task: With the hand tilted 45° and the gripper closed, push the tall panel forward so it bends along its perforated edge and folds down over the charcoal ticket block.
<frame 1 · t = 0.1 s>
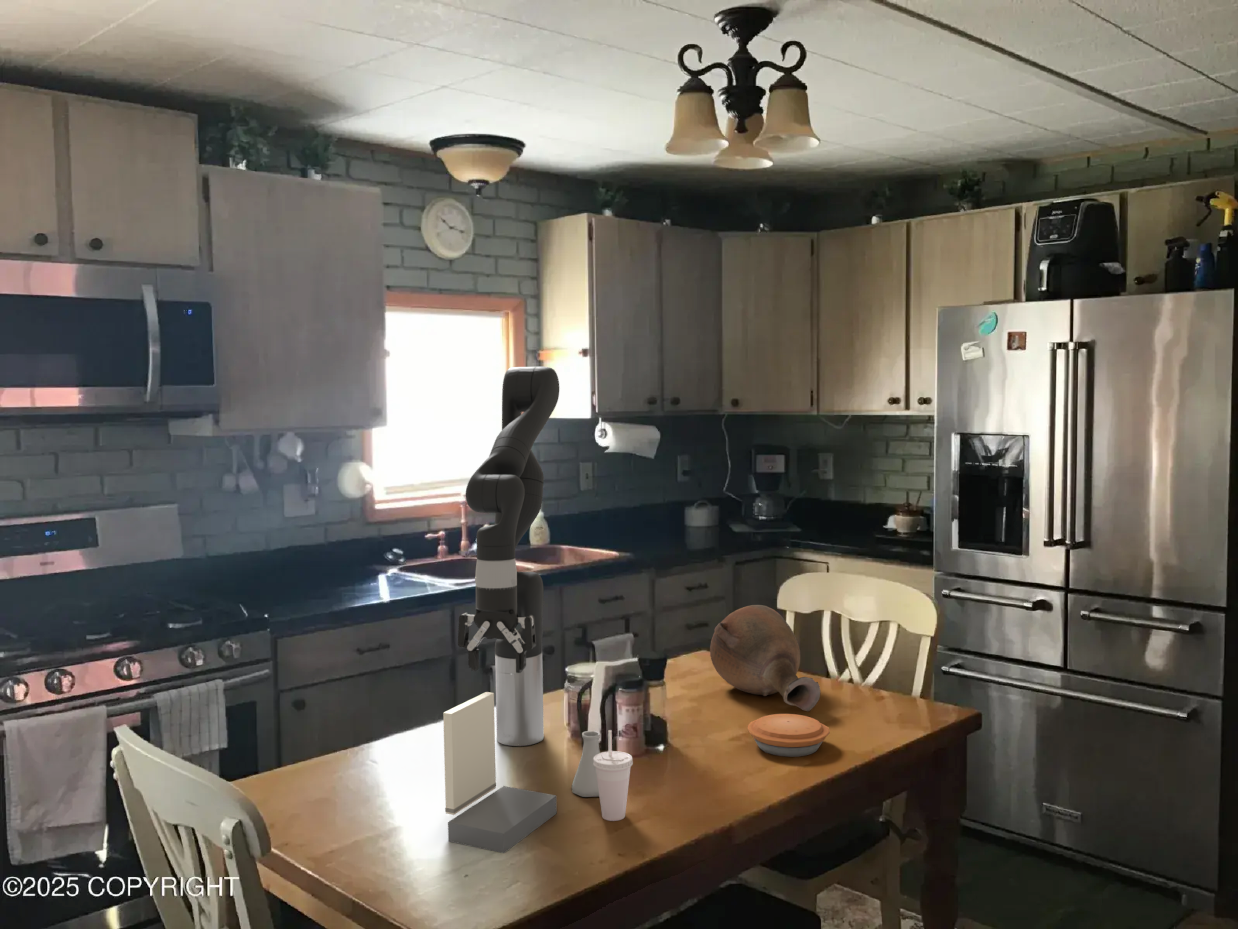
hand: (497, 671, 193), 17 cm above the table, fingers open, 8 cm apart
flask: (591, 791, 181), on the table
smoothie: (613, 817, 170), on the table
pie: (788, 748, 202), on the table
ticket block: (477, 821, 168), on the table
jug: (768, 698, 233), on the table
panel: (470, 751, 168), point 11 cm above the table, hinge at 0.0°
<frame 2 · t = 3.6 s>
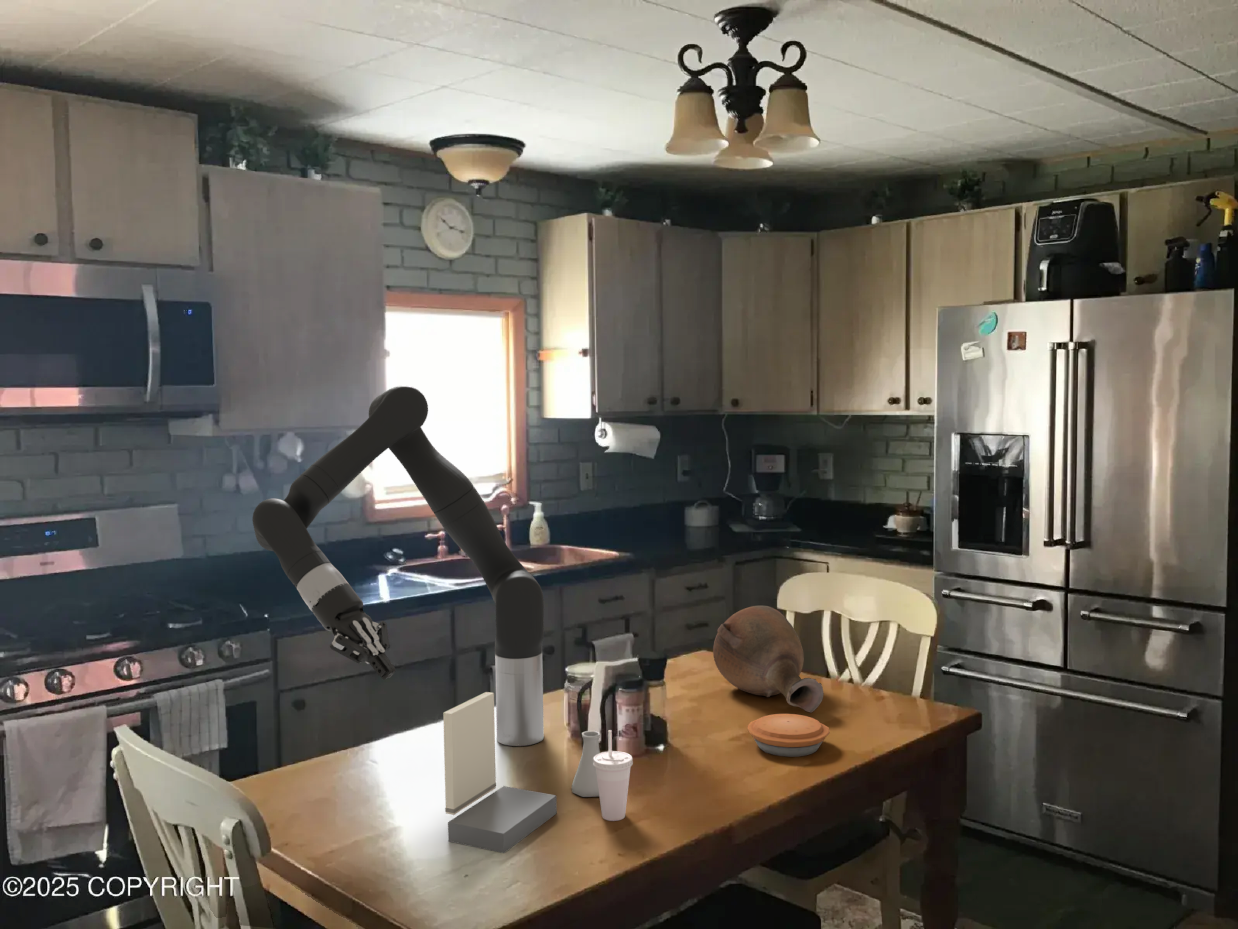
hand: (389, 675, 174), 22 cm above the table, fingers closed
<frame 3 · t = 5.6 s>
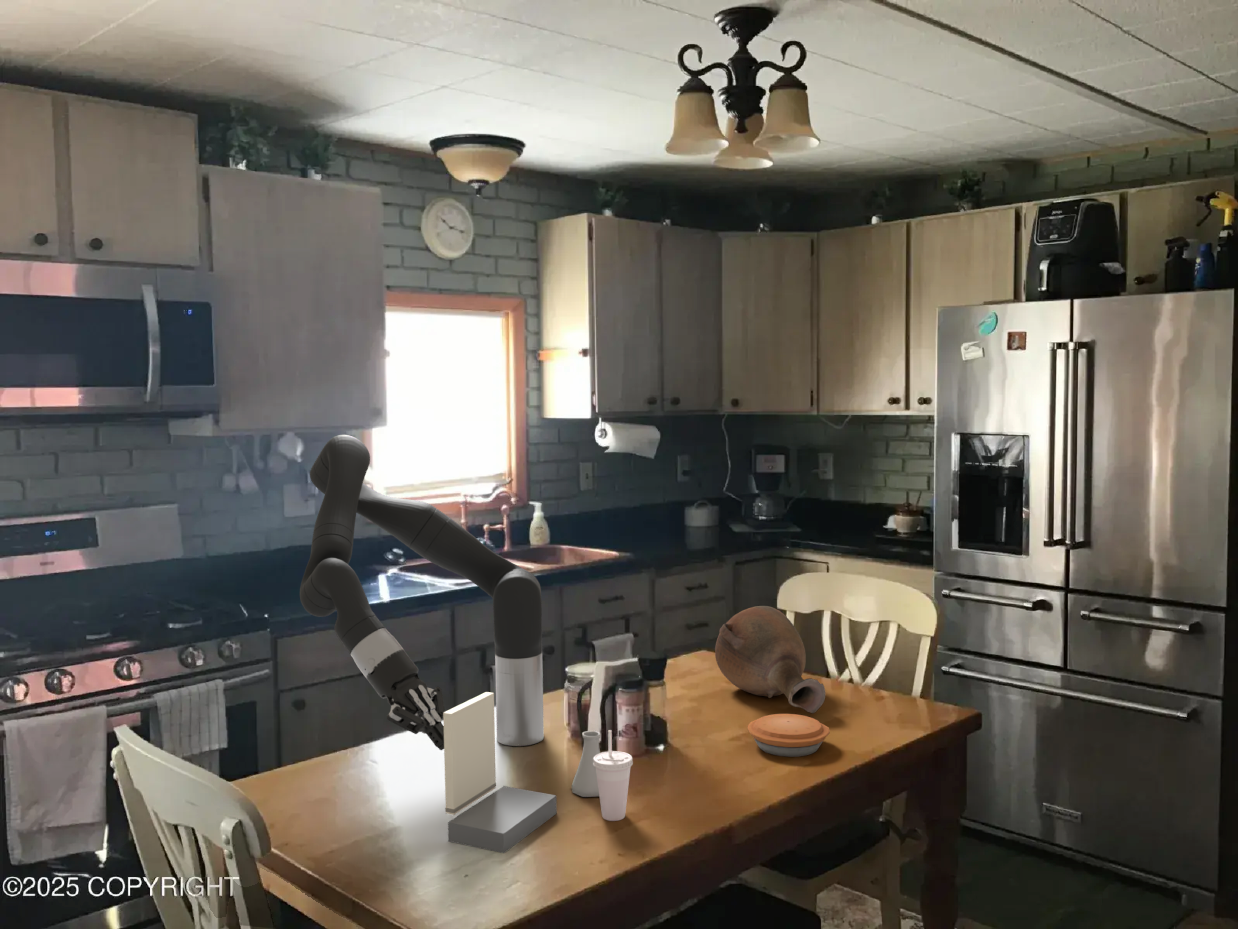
hand: (447, 746, 170), 11 cm above the table, fingers closed
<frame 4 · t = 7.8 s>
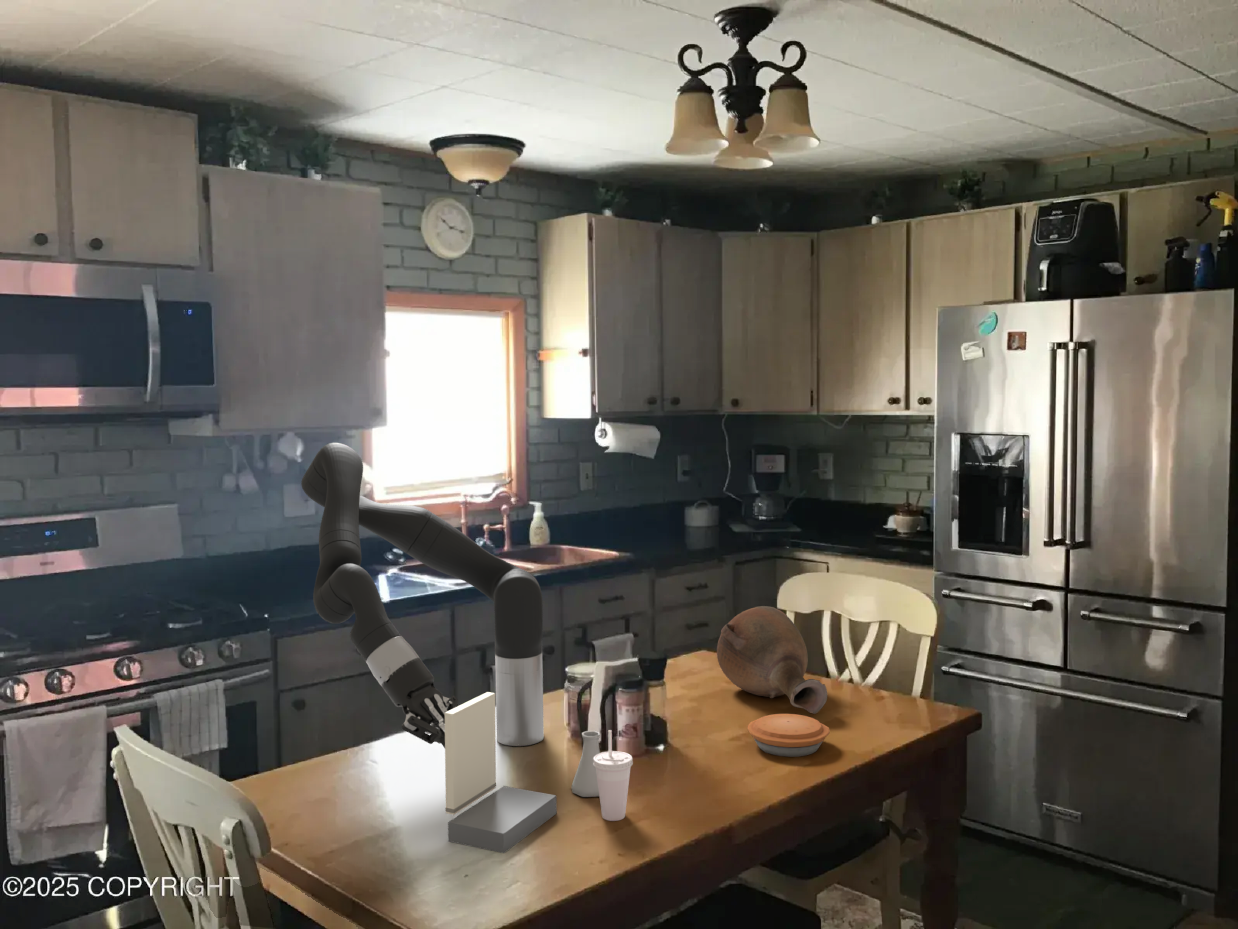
hand: (462, 756, 168), 11 cm above the table, fingers closed
panel: (471, 751, 168), point 11 cm above the table, hinge at 0.9°, touching gripper
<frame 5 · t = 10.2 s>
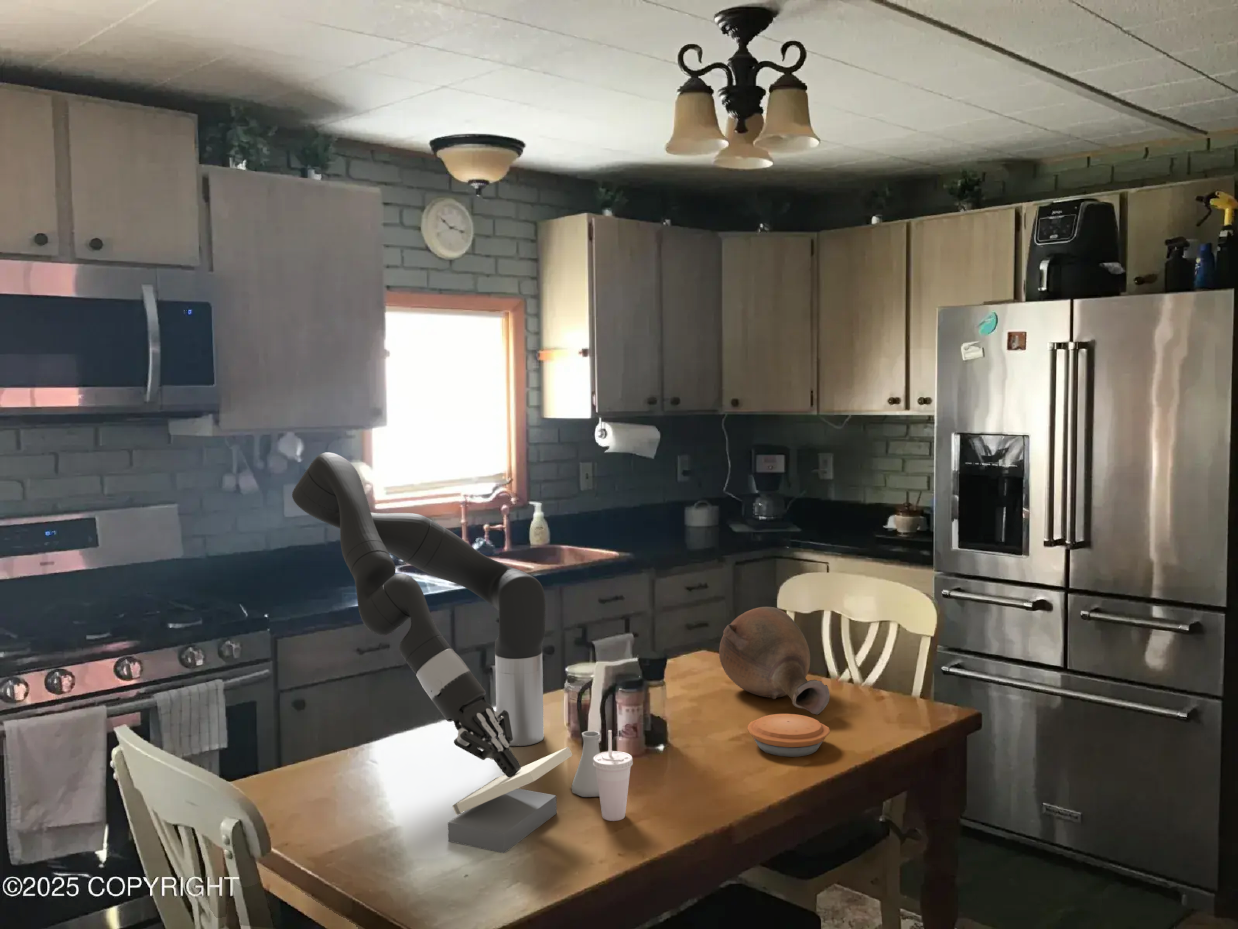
hand: (515, 773, 163), 9 cm above the table, fingers closed
panel: (513, 780, 165), point 8 cm above the table, hinge at 61.8°
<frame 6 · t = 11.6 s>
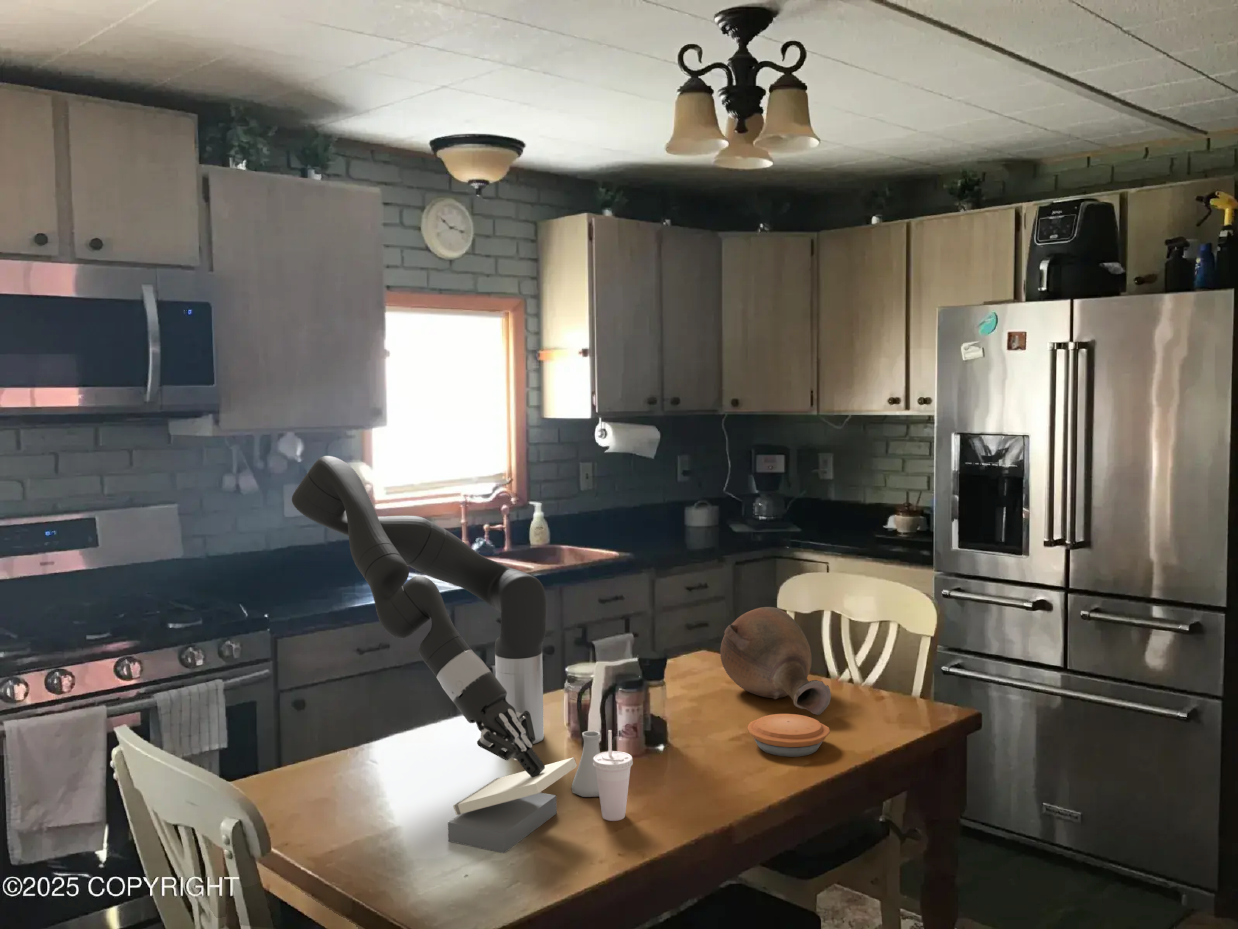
hand: (539, 773, 162), 10 cm above the table, fingers closed
panel: (515, 785, 165), point 7 cm above the table, hinge at 68.3°, touching gripper
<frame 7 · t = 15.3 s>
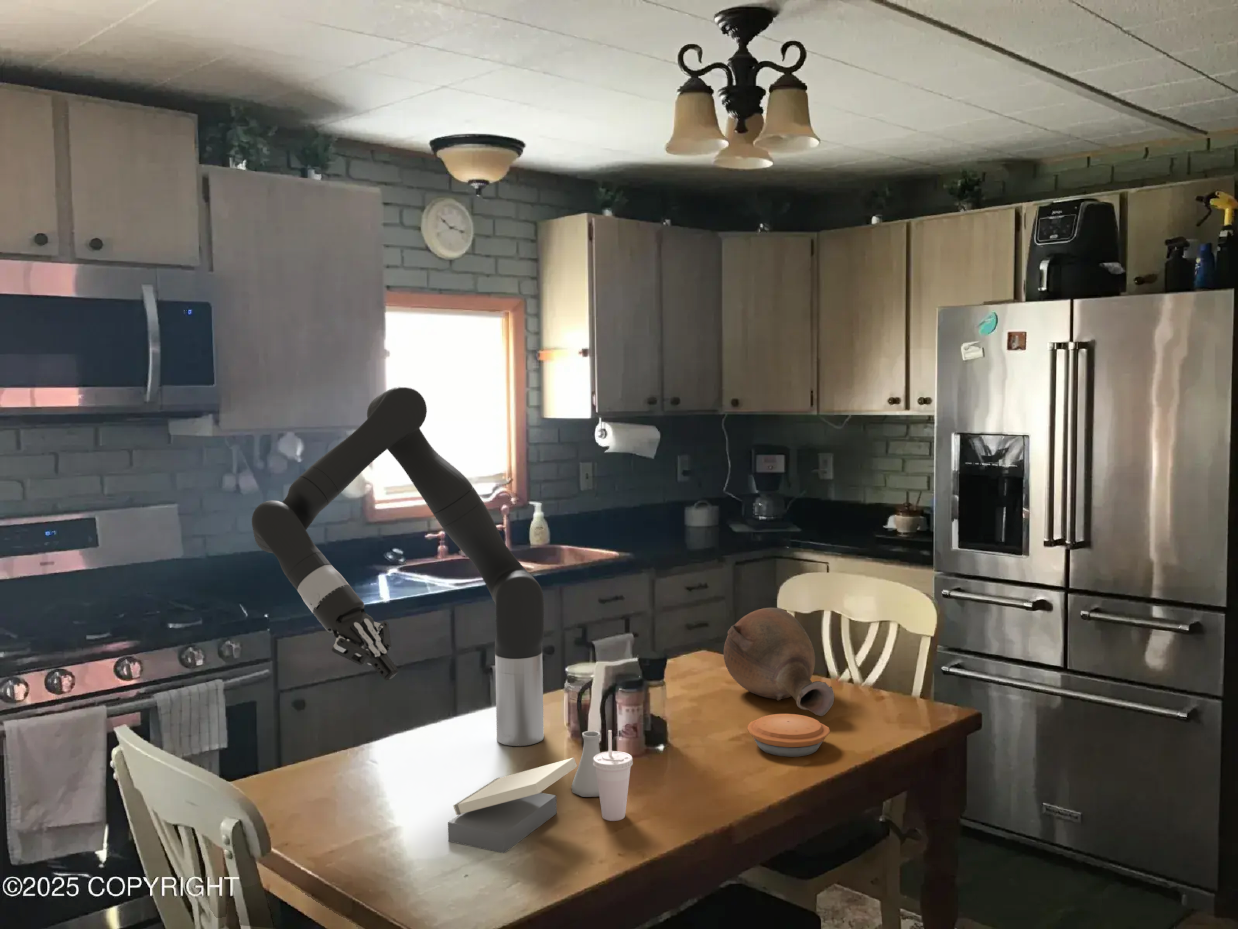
hand: (392, 676, 174), 22 cm above the table, fingers closed
panel: (515, 786, 165), point 7 cm above the table, hinge at 68.4°
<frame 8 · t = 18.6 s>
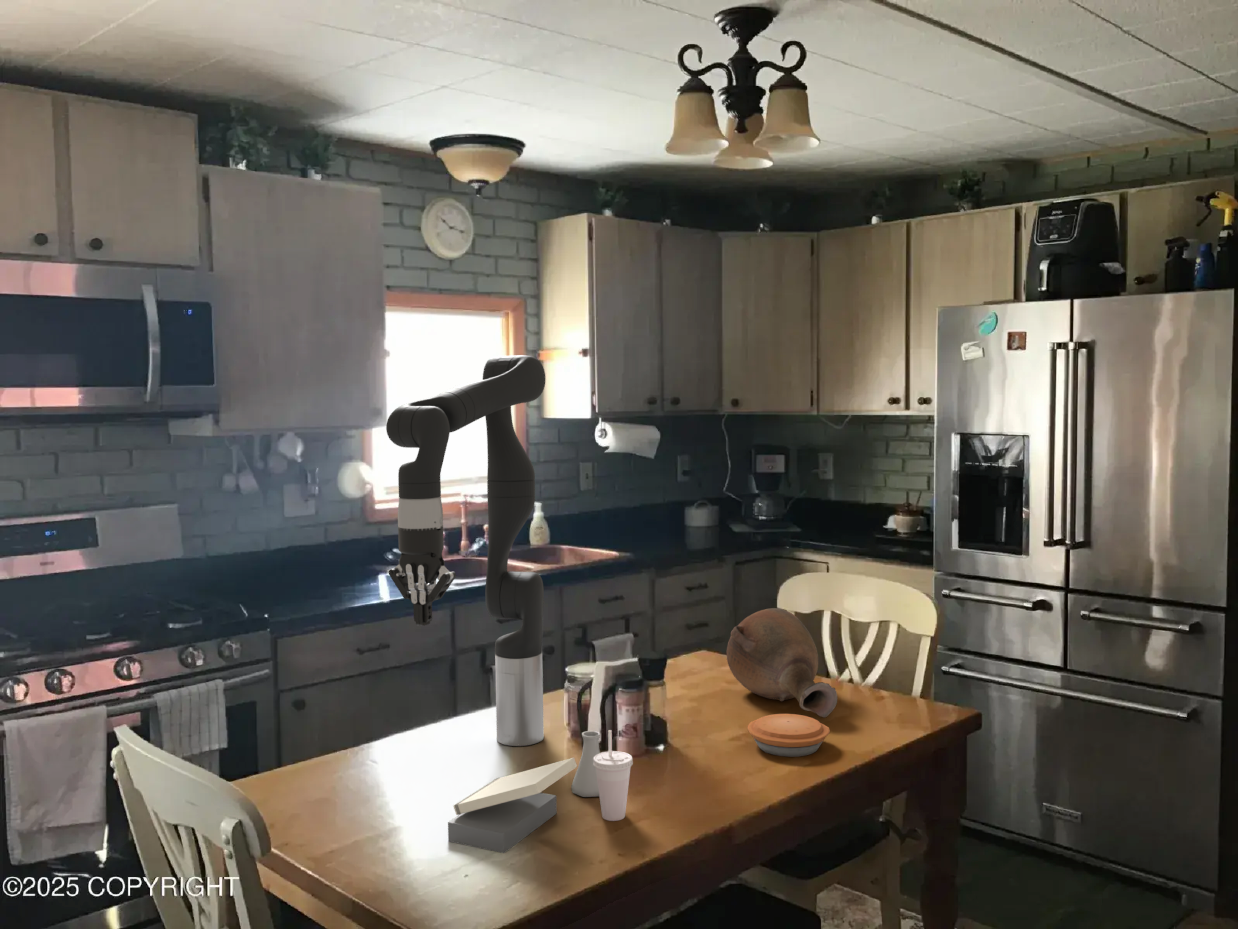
hand: (423, 624, 180), 29 cm above the table, fingers closed
at the end: panel at +68° (first picture: +0°); smoothie moved 0.2 cm from its start; flask moved 0.3 cm from its start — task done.
